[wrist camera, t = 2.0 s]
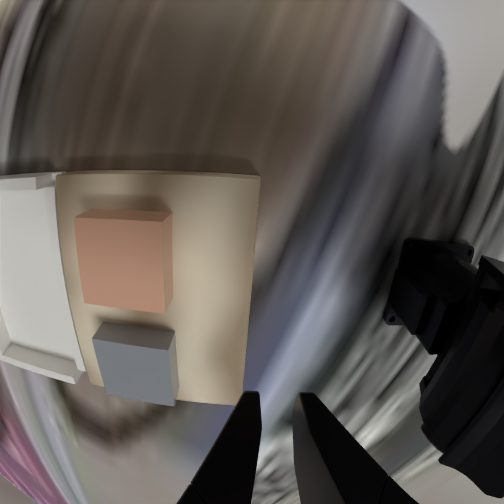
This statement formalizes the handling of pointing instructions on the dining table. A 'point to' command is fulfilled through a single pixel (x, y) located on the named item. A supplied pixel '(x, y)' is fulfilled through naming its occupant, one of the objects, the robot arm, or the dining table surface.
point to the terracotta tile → (125, 258)
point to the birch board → (177, 268)
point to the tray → (35, 281)
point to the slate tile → (138, 362)
